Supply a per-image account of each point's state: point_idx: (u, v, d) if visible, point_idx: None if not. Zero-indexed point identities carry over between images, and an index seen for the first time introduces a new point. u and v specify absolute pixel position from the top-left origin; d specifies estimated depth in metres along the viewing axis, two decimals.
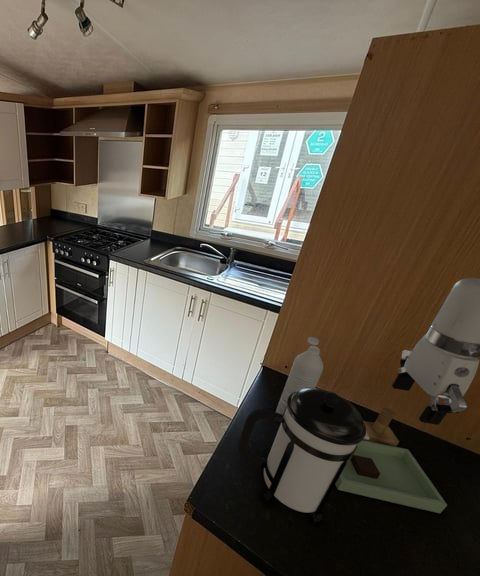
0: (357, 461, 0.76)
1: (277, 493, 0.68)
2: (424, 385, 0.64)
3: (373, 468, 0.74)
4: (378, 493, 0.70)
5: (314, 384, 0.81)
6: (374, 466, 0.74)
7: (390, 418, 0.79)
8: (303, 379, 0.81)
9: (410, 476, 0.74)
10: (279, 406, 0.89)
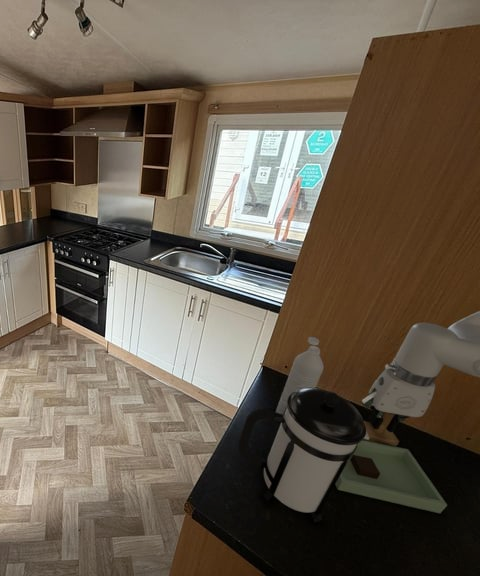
0: (357, 461, 0.76)
1: (277, 493, 0.68)
2: None
3: (373, 468, 0.74)
4: (378, 493, 0.70)
5: (314, 384, 0.81)
6: (374, 466, 0.74)
7: (390, 418, 0.79)
8: (303, 379, 0.81)
9: (410, 476, 0.74)
10: (279, 406, 0.89)
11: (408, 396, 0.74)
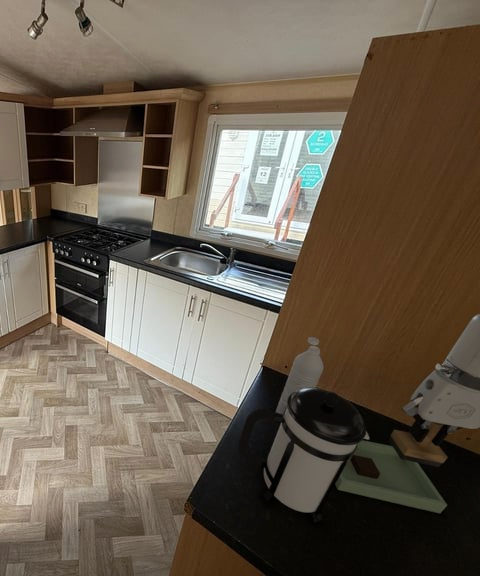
0: (357, 461, 0.76)
1: (277, 493, 0.68)
2: None
3: (373, 468, 0.74)
4: (378, 493, 0.70)
5: (314, 384, 0.81)
6: (374, 466, 0.74)
7: (438, 429, 0.65)
8: (303, 379, 0.81)
9: (410, 476, 0.74)
10: (279, 406, 0.89)
11: (464, 403, 0.60)
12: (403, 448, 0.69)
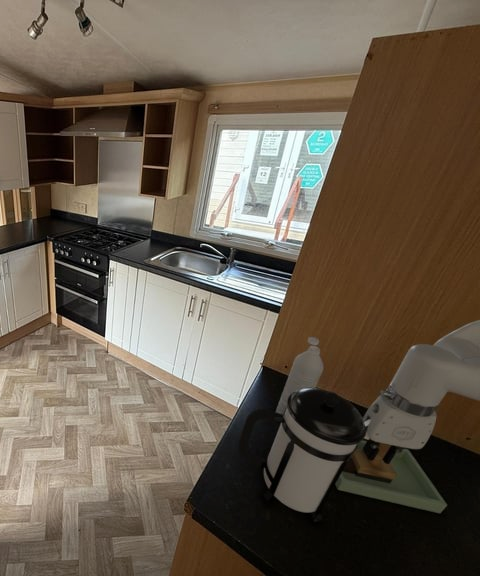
0: None
1: (277, 493, 0.68)
2: None
3: (350, 463, 0.75)
4: (378, 493, 0.70)
5: (314, 384, 0.81)
6: (351, 461, 0.76)
7: (386, 449, 0.71)
8: (303, 379, 0.81)
9: (410, 476, 0.74)
10: (279, 406, 0.89)
11: (406, 426, 0.65)
12: (357, 466, 0.74)
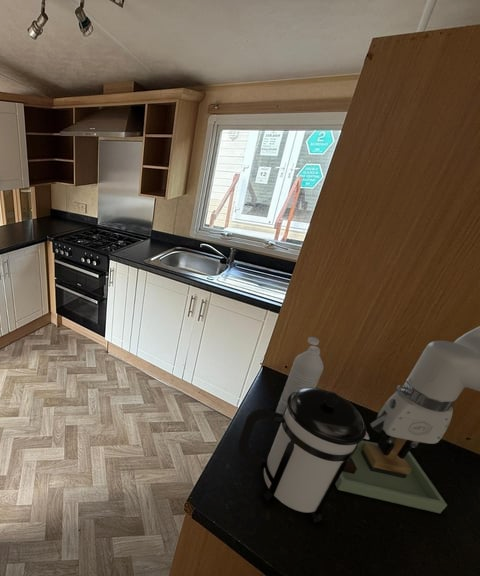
0: None
1: (277, 493, 0.68)
2: None
3: (350, 463, 0.75)
4: (378, 493, 0.70)
5: (314, 384, 0.81)
6: (351, 461, 0.76)
7: (402, 444, 0.72)
8: (303, 379, 0.81)
9: (410, 476, 0.74)
10: (279, 406, 0.89)
11: (423, 421, 0.66)
12: (372, 460, 0.75)
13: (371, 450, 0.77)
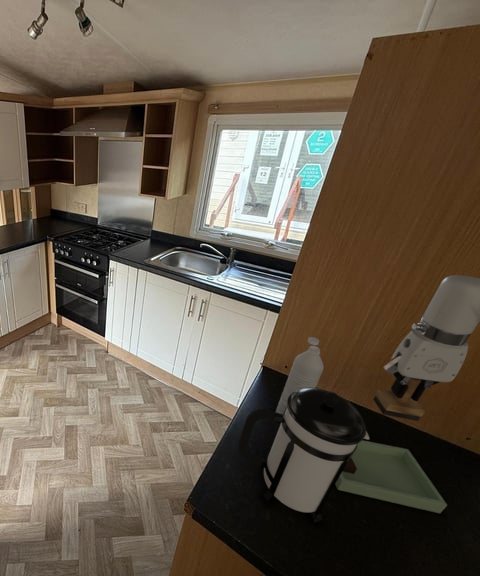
0: None
1: (277, 493, 0.68)
2: None
3: (350, 463, 0.75)
4: (378, 493, 0.70)
5: (314, 384, 0.81)
6: (351, 461, 0.76)
7: (416, 385, 0.72)
8: (303, 379, 0.81)
9: (410, 476, 0.74)
10: (279, 406, 0.89)
11: (438, 358, 0.67)
12: (385, 404, 0.75)
13: (384, 395, 0.77)
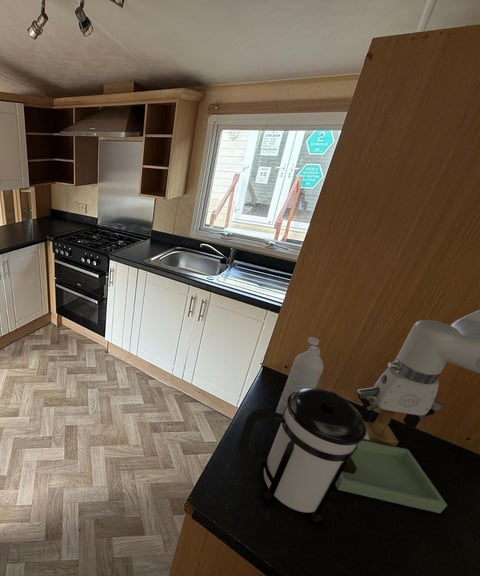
0: None
1: (277, 493, 0.68)
2: None
3: (350, 463, 0.75)
4: (378, 493, 0.70)
5: (314, 384, 0.81)
6: (351, 461, 0.76)
7: (389, 418, 0.79)
8: (303, 379, 0.81)
9: (410, 476, 0.74)
10: (279, 406, 0.89)
11: (411, 394, 0.73)
12: None
13: None
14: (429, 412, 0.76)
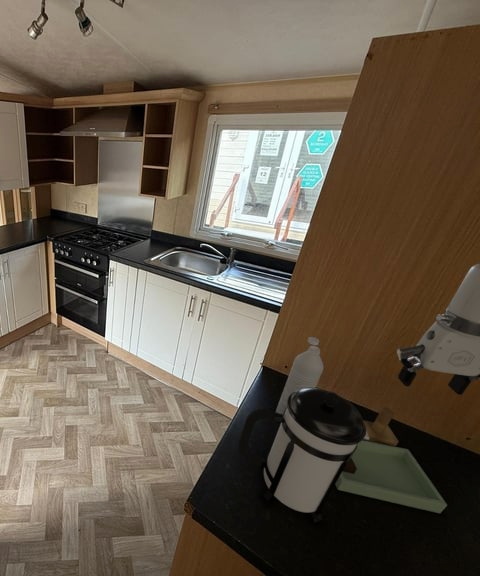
0: None
1: (277, 493, 0.68)
2: None
3: (350, 463, 0.75)
4: (378, 493, 0.70)
5: (314, 384, 0.81)
6: (351, 461, 0.76)
7: (389, 418, 0.79)
8: (303, 379, 0.81)
9: (410, 476, 0.74)
10: (279, 406, 0.89)
11: (464, 350, 0.63)
12: None
13: None
14: None
